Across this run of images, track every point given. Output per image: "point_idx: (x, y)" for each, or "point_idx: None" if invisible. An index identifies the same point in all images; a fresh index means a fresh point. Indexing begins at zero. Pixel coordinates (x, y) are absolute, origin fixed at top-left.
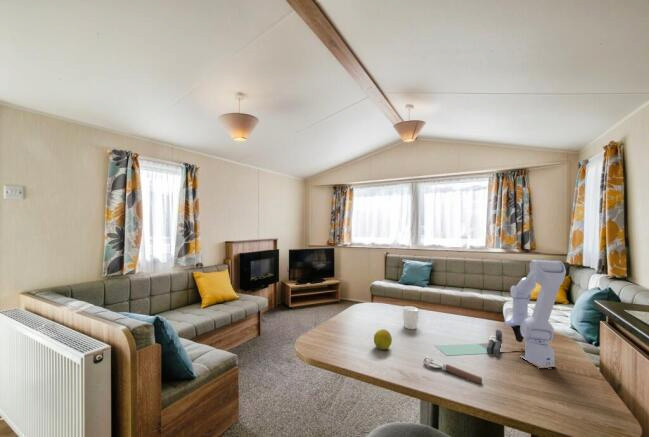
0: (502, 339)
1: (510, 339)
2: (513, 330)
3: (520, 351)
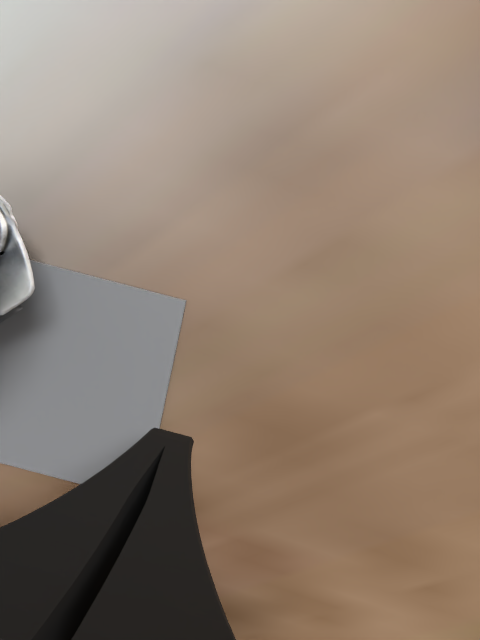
0: (11, 308)
1: (305, 239)
2: (29, 522)
3: None
